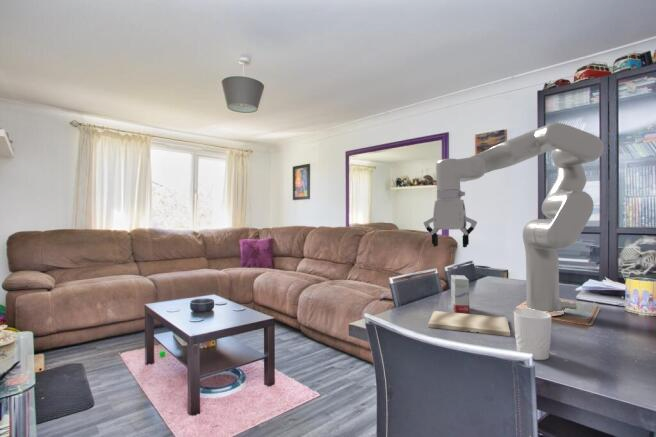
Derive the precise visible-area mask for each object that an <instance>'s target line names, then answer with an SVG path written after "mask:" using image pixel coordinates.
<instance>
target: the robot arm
mask: <svg viewBox="0 0 656 437" xmlns="http://www.w3.org/2000/svg"><path fill="white" fill-rule="evenodd" d="M604 150H605V146H604V142H603V141H602V139H601V138H599V137H598V136H597V135H595V134H592V133H590V132H587V131H584V130H582V129H581V128H577V127H574V126H571V125H568V124H566V123H561V122H552V123H549V124H545V125H543V126H541V127H537V128H536V129H533V130H531V131H528V132H525V133H523V134H521V135H517V136H515V137H513V138H510V139H508V140H506V141H503V142H501V143H498V144H496V145H494V146H492V147H490V148H488V149H486V150H484V151H481V152H479V153H477V154H474V155H471V156H469V157H463V158H442V159H439V160H438V161H436V164H435V172H436V174H435V176H436V178H435V180H436V200H435V201H434V205H433V215H432V217H431V218H429V219H427V220H425V221H424V222H423V225H424V227H425V229H426V231H427V232H429V234H430V235H431V244H432V245H433V247H435V248H436V247H438V246H439V236H438V234H437V233H438V232H439V230H460V231H461V233H462V248H467V247H468V245H469V244H470V242H469V241H470V240H469V238H470V237H469V235H470V234H471V233H472V232H473V231H474V230H475V228H476V226H477V224H478V221H477V220H474V219H472V218H470V217H468V216H467V211H466V207H465V201H464V199H461V198H462V197H465V196H466V191H463V190H461V183H465V182H469V181H475V180H477V179H478V180H479V179H480V178H482V177H484V175H485V174H488V173H490V172H492V171H497V170H501V169H505V168H509V167H512V166H515V165H518V164H520V163H522V162H524V161H527V160H529V159H532V158H534V157H536V156H540V155H541V154H545V153H547V152H550V151H552V153H551V158H552V162H553V164H554V166H555V168H556V171H557V172H556V173H557V176H556V179H555V181H554V183H553V184H552V187H551V188H550V190H549V192H548V194H547V195H546V197H545V198H544V200H543V202H542V204H541V212H542V214H543V215H544V217H546V218H539V219H538V218H537V219H532V220H530V221H529V222H527V223H526V224H525V225H524V226H523V230H522V241H523V245H524V251H525V281H526V282H525V283H526V284H525V286H526V287H525V292H526V295H525V296H526V300H525V301H526V303H524V304H522V305H527V307H528V308H531V309H535V310H539V311H548V312H553V311H562V310H563V311H565V309H569V310H577V308H578V307H577V303H575V302H569V301H562V300H561V299H560V271H559V267H560V265H559V264H560V262H559V254H558V253H557V250H558V251H559V250H562V251H563V250H568V249H569V248H571V247H572V246H573V245H574V244H575V243H576V242H577V240H578V239H579V237H580V236H581V234H582V232H583V230H584V229H585V227H586V226H587V224H588V221H589V220H590V218H591V216H592V214H593V212H594V201H593V198H592V195H590V194H589V193H588V192H586V191H584V189H585V186H586V184H587V174H586V172H585V170H584V167H583V165H582V164H588V163H591V162H594V161H596V160H598V159H599V158H601V157H602V155H603V153H604ZM547 218H549V219H547ZM431 223H432V225H433V227H431V225H430V224H431ZM467 223H469V224H470V226H469V227H468V228H467Z"/></svg>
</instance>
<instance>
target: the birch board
mask: <svg viewBox="0 0 656 437" xmlns="http://www.w3.org/2000/svg"><path fill="white" fill-rule="evenodd" d="M428 328H430V329H431V328H432V329H442V330H450V331H460V332H467V331H470V332H469V333H476V332H479V334H486V335H495V336H505V337H511V330H510V326H509V323H508V318H507V317H505V316H493V315H483V314H471V313H455V312H449V311H441V310H439V311H438V310H433V312H432V314H431V317H430V319H429V321H428Z"/></svg>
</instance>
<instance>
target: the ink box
mask: <svg viewBox="0 0 656 437" xmlns="http://www.w3.org/2000/svg"><path fill="white" fill-rule="evenodd" d="M450 294H451V296H450V297H451V299H450V301H451V303H450V304H451V308H452V310H453V311H454V313H463V314H471V313H470V310H471V309H470V279H468V277H466V276H465V275H461V274H460V275H458V274H451V275H450Z"/></svg>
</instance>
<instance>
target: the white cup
mask: <svg viewBox="0 0 656 437" xmlns="http://www.w3.org/2000/svg"><path fill="white" fill-rule="evenodd" d="M552 317H553V316H551V315H550V314H549V313H546V312H543V311H539V310H532V309H521V308H520V309H519V308H518V309H515V310H514V311H513V321H514V336H515V344H516V352H517V351H520V352H527V353H532V354H533V356H534V359H533V360H535V361H536V360H538V361H543V360H548V359H549V358H550V347H551V335H552Z"/></svg>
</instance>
